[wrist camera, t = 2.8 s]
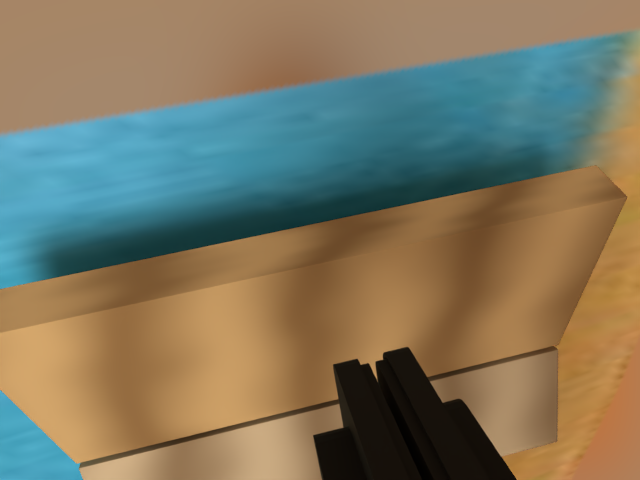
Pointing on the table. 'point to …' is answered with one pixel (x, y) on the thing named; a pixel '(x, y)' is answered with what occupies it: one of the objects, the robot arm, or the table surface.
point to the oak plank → (299, 312)
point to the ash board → (301, 424)
